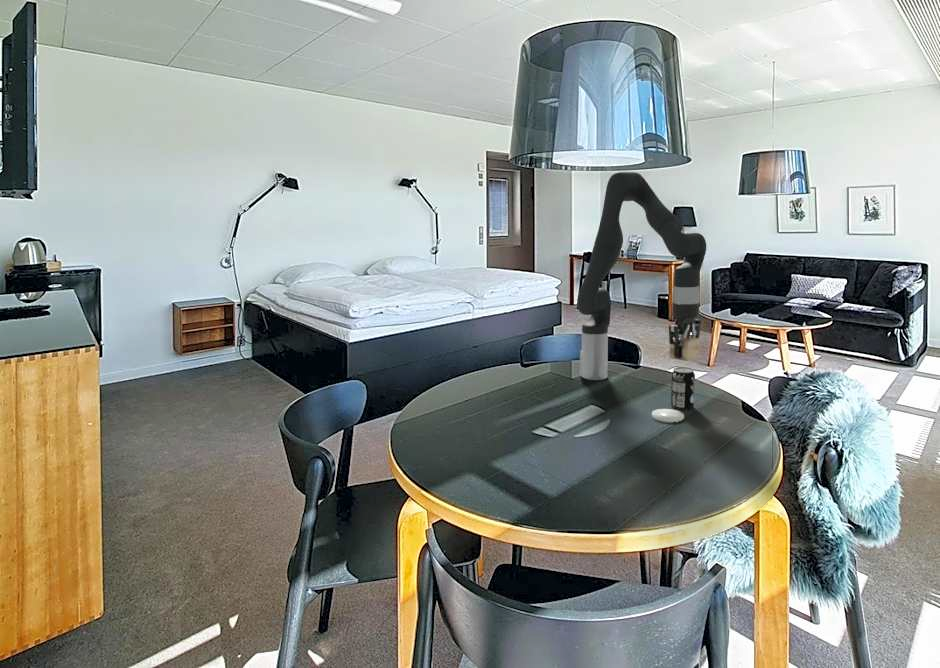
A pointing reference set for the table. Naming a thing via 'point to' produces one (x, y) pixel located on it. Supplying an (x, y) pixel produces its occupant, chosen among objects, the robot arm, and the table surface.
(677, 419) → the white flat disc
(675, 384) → the beverage can
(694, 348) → the oak cube
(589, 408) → the table surface
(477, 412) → the table surface
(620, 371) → the table surface
